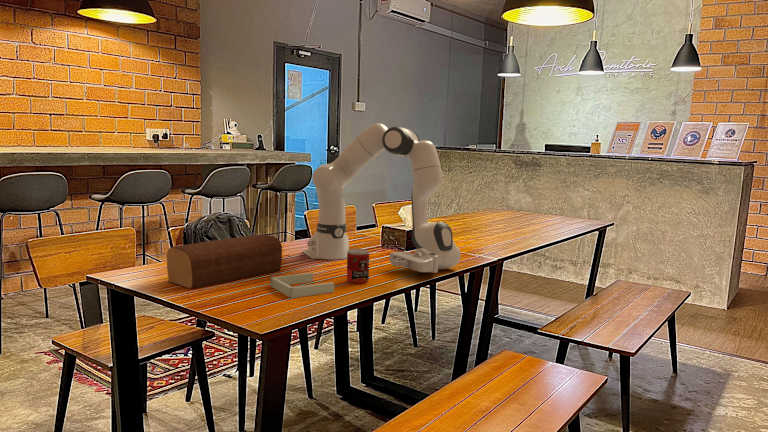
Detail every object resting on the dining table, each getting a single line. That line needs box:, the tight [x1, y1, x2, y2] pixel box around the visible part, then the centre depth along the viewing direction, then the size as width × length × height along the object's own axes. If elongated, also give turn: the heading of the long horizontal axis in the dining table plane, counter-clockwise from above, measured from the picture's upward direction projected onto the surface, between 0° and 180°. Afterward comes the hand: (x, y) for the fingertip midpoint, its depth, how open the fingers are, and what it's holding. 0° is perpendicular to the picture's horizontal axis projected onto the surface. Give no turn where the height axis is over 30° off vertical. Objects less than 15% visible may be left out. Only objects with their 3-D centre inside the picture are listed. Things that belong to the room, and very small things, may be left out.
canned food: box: [346, 248, 370, 285], centre depth 206 cm, size 8×8×11 cm
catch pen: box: [269, 272, 335, 299], centre depth 194 cm, size 16×15×3 cm
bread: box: [166, 233, 283, 290], centre depth 208 cm, size 16×39×13 cm, turn 141°
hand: (393, 263), depth 214 cm, fingers closed
